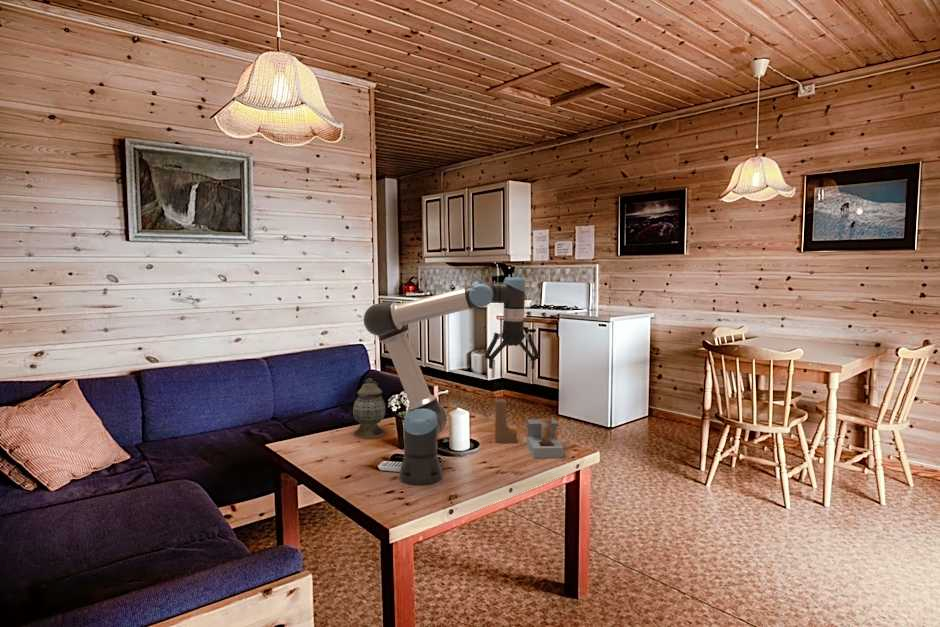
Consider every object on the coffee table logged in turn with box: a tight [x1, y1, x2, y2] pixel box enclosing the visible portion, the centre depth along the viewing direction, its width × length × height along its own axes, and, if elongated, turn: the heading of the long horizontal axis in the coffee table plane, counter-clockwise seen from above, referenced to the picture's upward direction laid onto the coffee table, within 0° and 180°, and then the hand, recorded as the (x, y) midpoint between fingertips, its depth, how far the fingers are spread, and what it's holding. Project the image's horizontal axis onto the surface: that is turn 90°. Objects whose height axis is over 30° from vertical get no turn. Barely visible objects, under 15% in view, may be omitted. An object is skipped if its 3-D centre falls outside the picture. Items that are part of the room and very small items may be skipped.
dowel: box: [541, 417, 553, 446], centre depth 228 cm, size 4×4×14 cm
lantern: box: [352, 377, 386, 440], centre depth 253 cm, size 14×14×25 cm
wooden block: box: [494, 398, 518, 444], centre depth 243 cm, size 9×4×18 cm, turn 89°
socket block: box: [525, 418, 565, 459], centre depth 231 cm, size 12×16×11 cm
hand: (511, 377), depth 209 cm, fingers open, 13 cm apart
